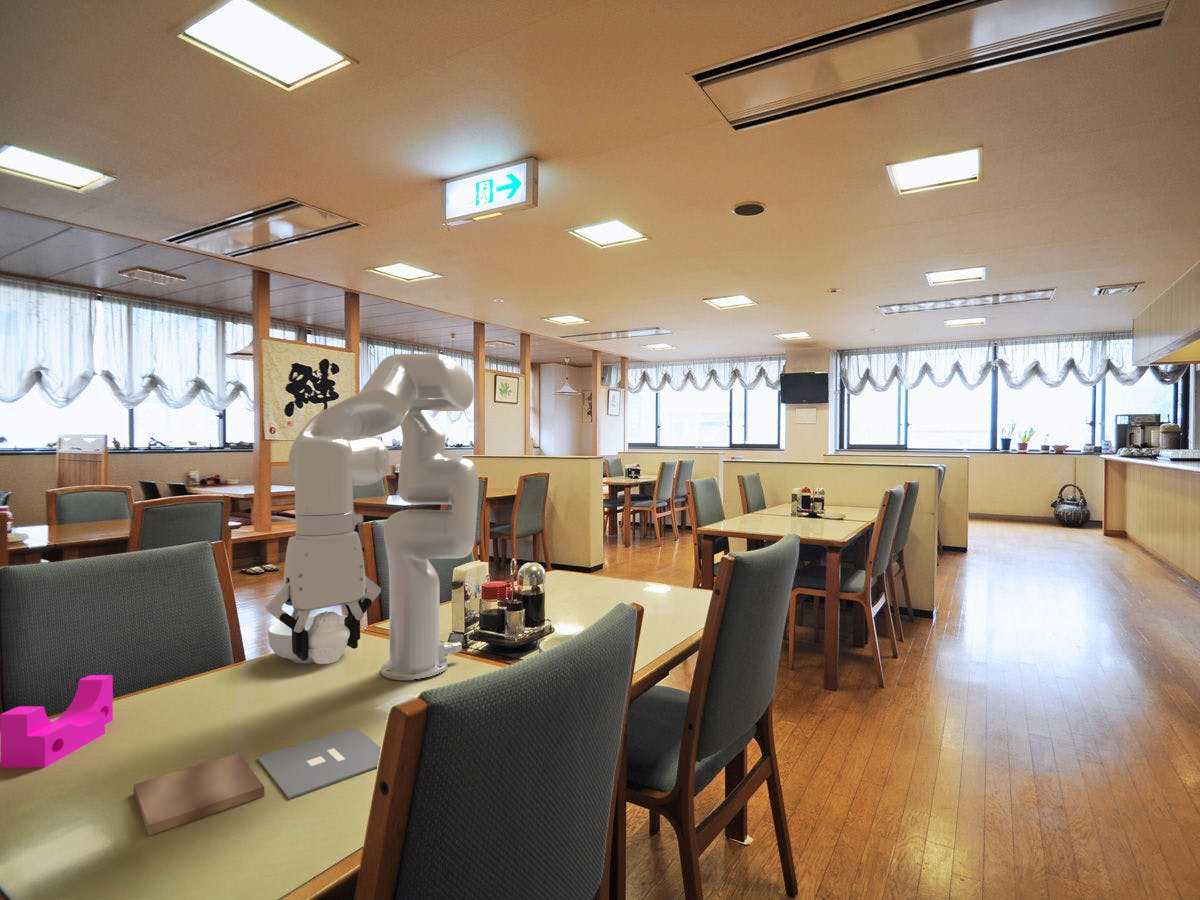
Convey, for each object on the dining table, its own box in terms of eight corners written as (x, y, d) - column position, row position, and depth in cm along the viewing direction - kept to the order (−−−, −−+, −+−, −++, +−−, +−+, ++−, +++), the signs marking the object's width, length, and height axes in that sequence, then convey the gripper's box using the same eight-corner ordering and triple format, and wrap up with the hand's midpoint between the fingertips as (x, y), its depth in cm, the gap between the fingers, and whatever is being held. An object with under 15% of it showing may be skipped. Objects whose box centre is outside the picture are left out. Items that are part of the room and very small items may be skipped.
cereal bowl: (372, 649, 138) (372, 617, 138) (315, 675, 122) (315, 639, 122) (311, 641, 144) (311, 610, 144) (248, 665, 128) (248, 630, 128)
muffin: (293, 665, 87) (292, 615, 87) (324, 650, 93) (323, 603, 93) (330, 670, 86) (329, 618, 86) (360, 654, 92) (359, 606, 91)
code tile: (355, 728, 99) (355, 726, 99) (395, 761, 89) (395, 759, 89) (257, 759, 89) (257, 756, 89) (288, 799, 79) (288, 796, 79)
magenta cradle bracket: (45, 768, 87) (44, 714, 87) (0, 768, 87) (0, 714, 87) (128, 721, 102) (127, 675, 102) (90, 721, 102) (89, 675, 102)
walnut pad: (239, 761, 89) (239, 752, 89) (264, 795, 80) (264, 786, 80) (133, 793, 81) (133, 784, 81) (148, 835, 72) (148, 825, 72)
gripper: (373, 517, 98) (375, 632, 98) (249, 529, 86) (252, 660, 86) (395, 522, 92) (397, 644, 93) (265, 535, 80) (268, 675, 81)
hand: (327, 650), depth 89 cm, fingers closed on muffin, 6 cm apart
